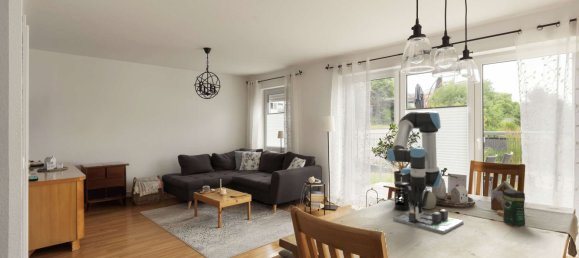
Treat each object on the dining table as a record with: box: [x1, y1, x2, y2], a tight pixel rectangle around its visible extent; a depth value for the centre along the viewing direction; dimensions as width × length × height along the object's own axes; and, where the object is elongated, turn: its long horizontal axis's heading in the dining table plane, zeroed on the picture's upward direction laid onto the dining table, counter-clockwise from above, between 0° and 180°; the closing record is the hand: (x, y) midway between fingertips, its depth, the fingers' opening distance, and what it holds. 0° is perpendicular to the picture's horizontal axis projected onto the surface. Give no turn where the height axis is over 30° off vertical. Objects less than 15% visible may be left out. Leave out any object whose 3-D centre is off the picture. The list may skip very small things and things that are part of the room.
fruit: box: [422, 190, 437, 210], centre depth 194 cm, size 10×12×15 cm
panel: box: [393, 209, 464, 235], centre depth 168 cm, size 24×28×2 cm
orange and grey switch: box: [409, 210, 418, 221], centre depth 166 cm, size 4×3×4 cm
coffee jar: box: [502, 188, 526, 227], centre depth 163 cm, size 10×8×19 cm
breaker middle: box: [431, 211, 441, 222], centre depth 164 cm, size 4×3×4 cm
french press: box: [393, 172, 411, 212], centre depth 193 cm, size 12×9×23 cm
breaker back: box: [438, 208, 449, 219], centre depth 169 cm, size 4×3×4 cm
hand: (418, 218), depth 164 cm, fingers closed
